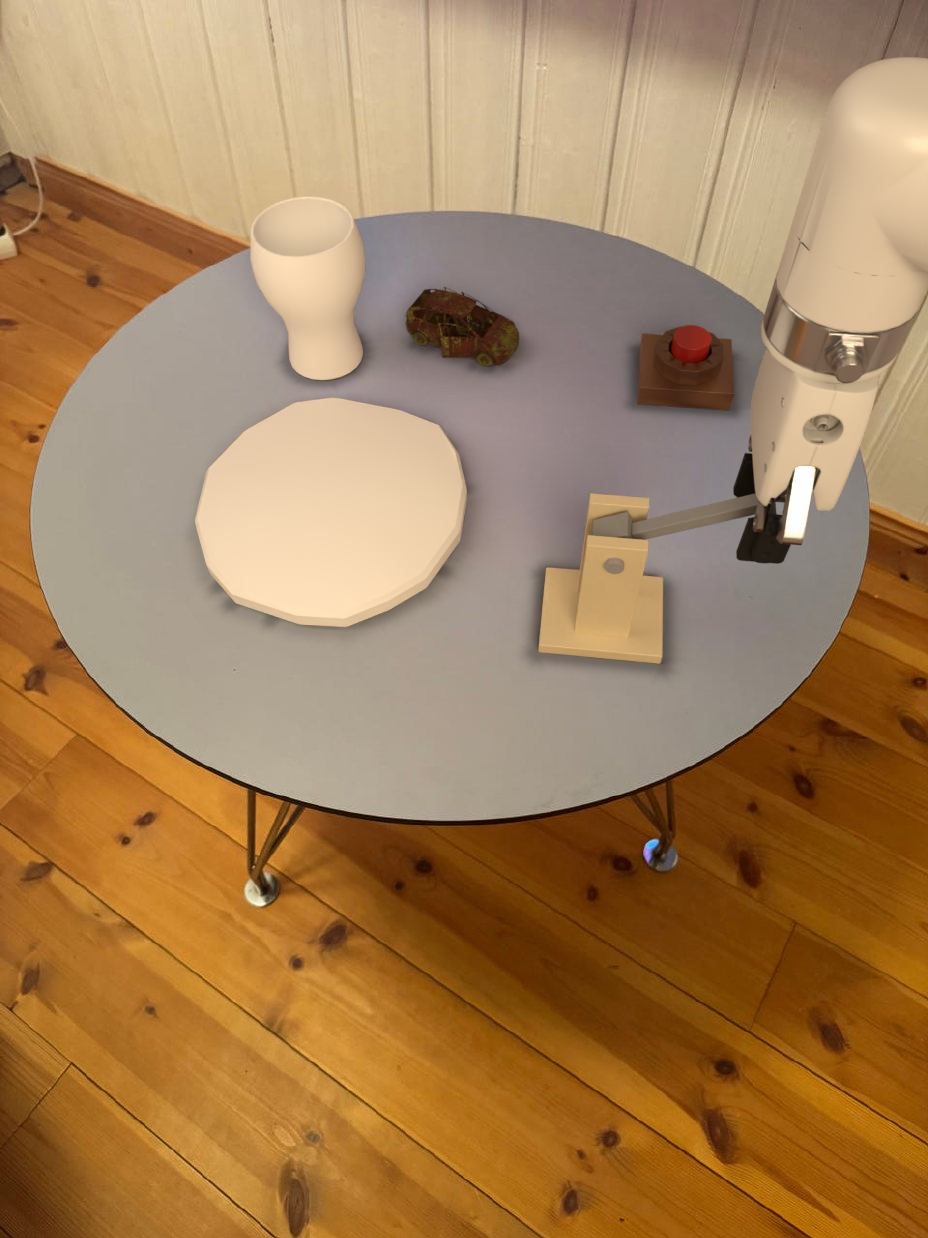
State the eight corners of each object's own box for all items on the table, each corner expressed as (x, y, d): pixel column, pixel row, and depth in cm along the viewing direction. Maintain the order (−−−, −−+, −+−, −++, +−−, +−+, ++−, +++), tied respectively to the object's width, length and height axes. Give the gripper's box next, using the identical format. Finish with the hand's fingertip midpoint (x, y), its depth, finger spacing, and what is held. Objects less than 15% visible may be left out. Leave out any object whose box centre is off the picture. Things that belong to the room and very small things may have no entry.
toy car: (396, 348, 97) (392, 310, 93) (427, 309, 100) (425, 271, 96) (499, 382, 94) (499, 344, 90) (527, 341, 97) (529, 302, 93)
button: (707, 340, 91) (711, 325, 90) (708, 364, 89) (712, 350, 88) (671, 337, 92) (673, 323, 90) (670, 362, 90) (673, 348, 88)
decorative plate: (259, 361, 90) (502, 415, 85) (268, 393, 94) (501, 446, 89) (131, 556, 77) (408, 631, 73) (147, 584, 81) (412, 658, 76)
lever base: (661, 584, 80) (687, 485, 69) (660, 664, 75) (688, 570, 65) (545, 574, 80) (554, 474, 70) (538, 652, 76) (546, 558, 65)
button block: (726, 355, 95) (735, 324, 92) (729, 410, 91) (738, 379, 88) (639, 350, 96) (644, 318, 93) (637, 404, 92) (643, 372, 88)
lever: (777, 483, 65) (768, 461, 64) (781, 538, 63) (772, 516, 61) (605, 524, 72) (593, 505, 70) (603, 576, 69) (590, 557, 67)
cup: (255, 367, 96) (220, 238, 83) (316, 310, 101) (291, 180, 88) (337, 404, 93) (314, 275, 80) (396, 343, 98) (383, 212, 85)
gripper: (930, 433, 46) (820, 631, 61) (887, 227, 55) (801, 443, 70) (776, 422, 46) (705, 620, 61) (759, 220, 56) (701, 436, 71)
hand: (757, 524), depth 66 cm, fingers closed on lever, 5 cm apart
